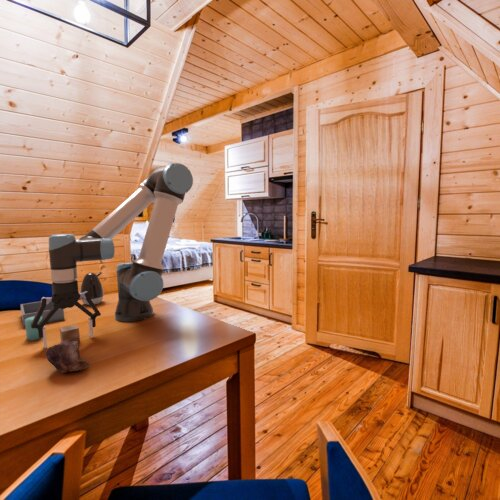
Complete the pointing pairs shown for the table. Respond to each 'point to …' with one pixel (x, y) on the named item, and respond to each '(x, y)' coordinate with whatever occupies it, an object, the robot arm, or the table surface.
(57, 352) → the rock
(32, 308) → the tote
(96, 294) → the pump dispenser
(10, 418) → the table surface
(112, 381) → the table surface
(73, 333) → the walnut cube
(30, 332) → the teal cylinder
